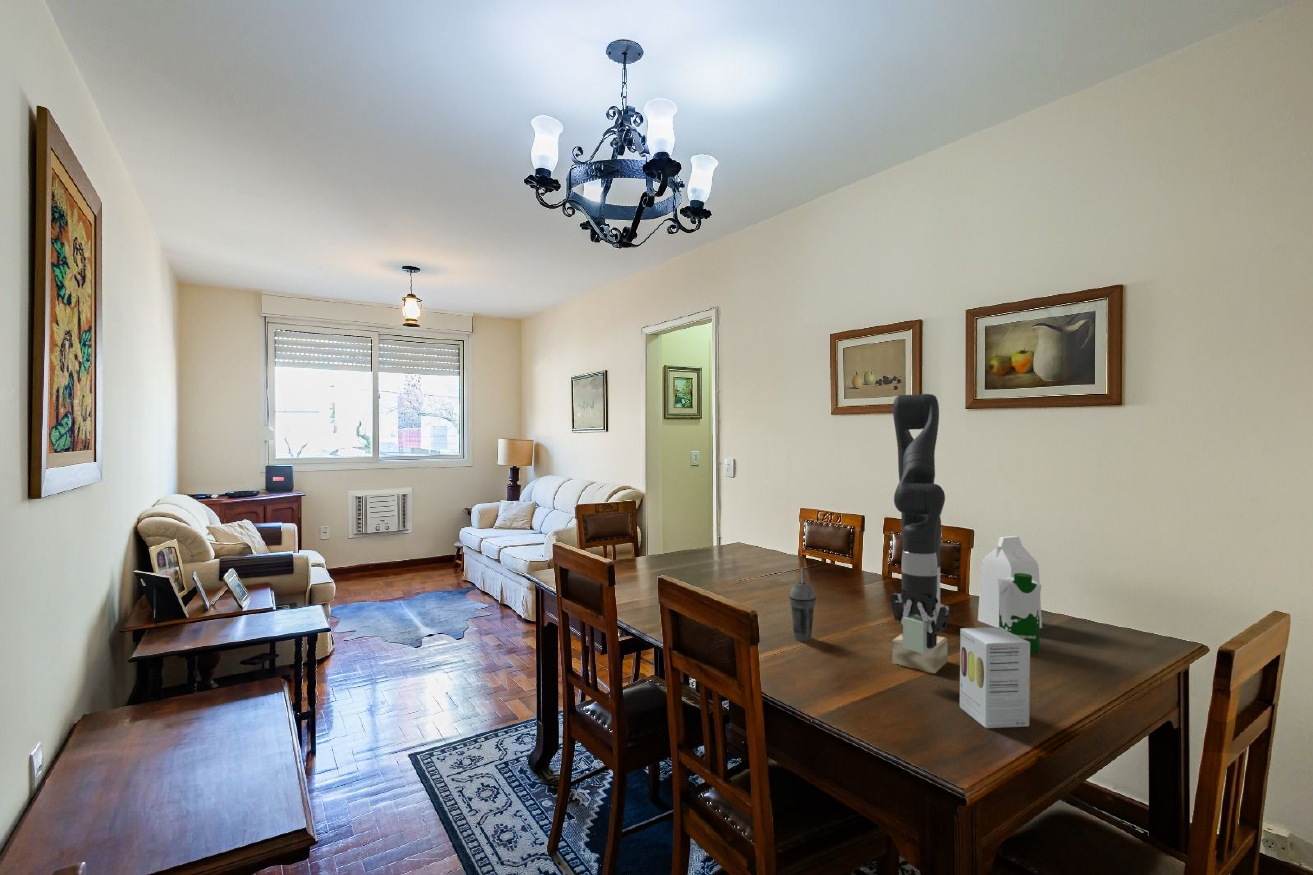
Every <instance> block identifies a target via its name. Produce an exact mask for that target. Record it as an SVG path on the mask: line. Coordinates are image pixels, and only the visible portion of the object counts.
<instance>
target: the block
mask: <svg viewBox="0 0 1313 875" xmlns="http://www.w3.org/2000/svg"><path fill="white" fill-rule="evenodd" d="M927 632H928V631H927V623H926V622H923V619H922V617H921V616H919V615H917V614H915V615H912V616H909V617H903V648H906V649H909V650H912V651H915V652H918V653H921V654H925V653H927V652H930V651H932V650H934V649H936V646H934V648H932V649H929V648H927Z"/></svg>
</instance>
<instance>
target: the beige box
mask: <svg viewBox="0 0 1313 875" xmlns="http://www.w3.org/2000/svg"><path fill="white" fill-rule="evenodd" d="M891 642H892V644H891V649H892V652H891V653H892V654H891V655H892V658H891V659H892V660H891V661H892V662H891V663H892V664H894V665H897V664H899V665H898V666H901V665H902V667H905V666H906V668H909V669H913V668H916V669H915V670H917V669H920V670H919V671H921V670H922V672H925V673H931V674H933V673H934V674H936V673H937V672H938V671H939V670H940V669H941V668H942V667H943V666H945V665H946V664H947V663H948V638H946V637H944V636H939V635H937V644H936V649H934V650H932V651H930V652H927V653H925V654H921V653H918V652H915V651H912V650H909V649H906V648H903V636H902V633H900V634H899V635H898V636H896V637H895V638H894V639H892V641H891Z"/></svg>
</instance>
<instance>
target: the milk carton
mask: <svg viewBox="0 0 1313 875" xmlns="http://www.w3.org/2000/svg"><path fill="white" fill-rule="evenodd" d="M998 587H999V627H1001V628H1003V629H1005V630H1006V631H1008V632H1010V633H1012V634H1014V635H1016V636H1018V637H1020V638H1022V639H1024V640H1026V641H1028V642H1030V654H1040V629H1041V628H1040V599H1041V590H1042V584H1041V583H1040V584H1038V583H1037V582H1035V581H1033V580H1032V576H1031V575H1029V574H1023V573H1015V574H1014V578H1001V577H998Z"/></svg>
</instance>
